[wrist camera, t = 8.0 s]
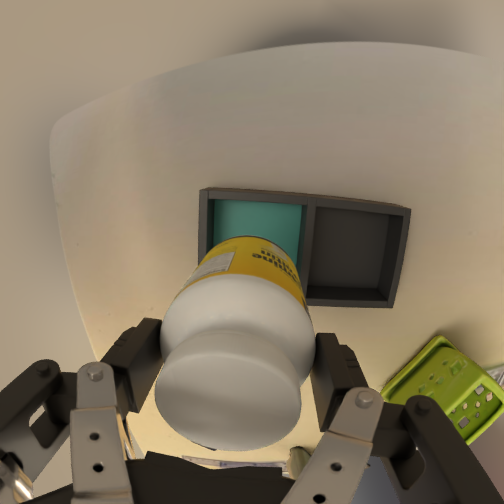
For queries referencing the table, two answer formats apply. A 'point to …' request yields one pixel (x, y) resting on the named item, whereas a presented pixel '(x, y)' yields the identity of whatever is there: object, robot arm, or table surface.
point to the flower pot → (449, 386)
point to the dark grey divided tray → (317, 240)
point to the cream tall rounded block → (297, 461)
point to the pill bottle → (236, 348)
